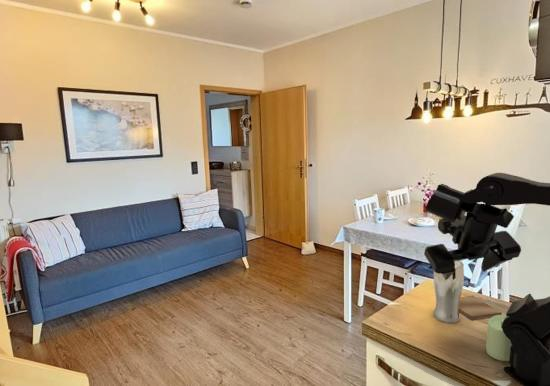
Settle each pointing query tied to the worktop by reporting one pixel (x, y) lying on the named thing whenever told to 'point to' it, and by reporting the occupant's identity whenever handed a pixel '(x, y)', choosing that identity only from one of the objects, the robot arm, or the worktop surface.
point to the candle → (497, 339)
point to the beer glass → (449, 294)
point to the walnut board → (476, 308)
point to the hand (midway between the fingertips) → (463, 273)
